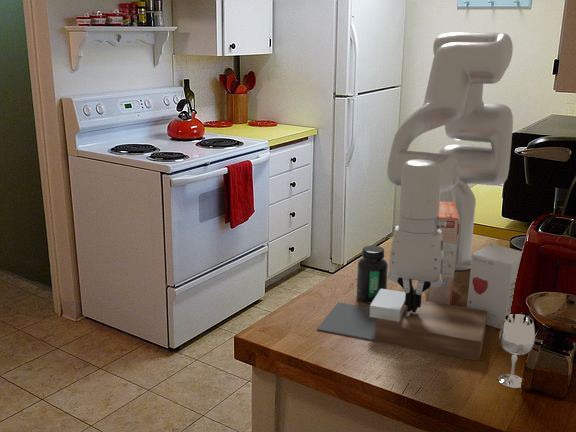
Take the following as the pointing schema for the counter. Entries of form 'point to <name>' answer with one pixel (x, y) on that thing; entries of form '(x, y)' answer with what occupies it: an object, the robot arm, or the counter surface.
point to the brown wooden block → (437, 330)
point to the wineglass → (516, 343)
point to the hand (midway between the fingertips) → (412, 309)
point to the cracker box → (446, 254)
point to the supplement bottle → (371, 273)
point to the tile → (388, 305)
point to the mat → (350, 321)
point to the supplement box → (493, 281)
